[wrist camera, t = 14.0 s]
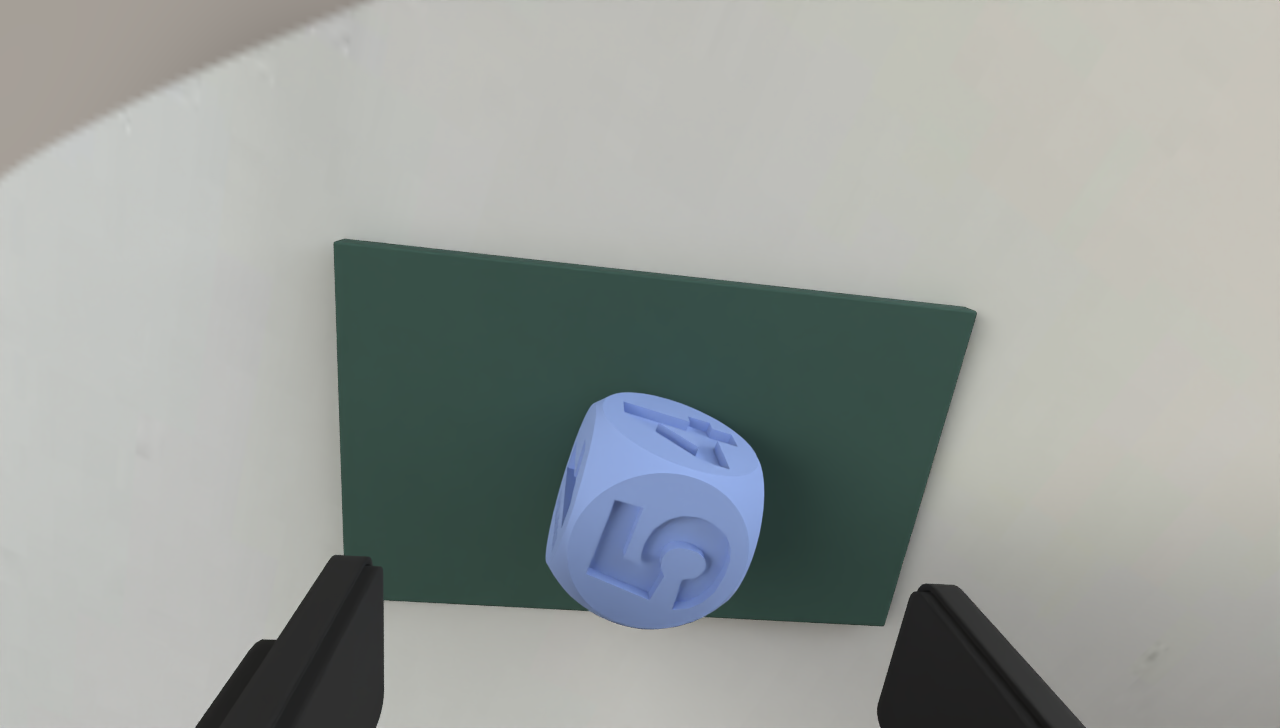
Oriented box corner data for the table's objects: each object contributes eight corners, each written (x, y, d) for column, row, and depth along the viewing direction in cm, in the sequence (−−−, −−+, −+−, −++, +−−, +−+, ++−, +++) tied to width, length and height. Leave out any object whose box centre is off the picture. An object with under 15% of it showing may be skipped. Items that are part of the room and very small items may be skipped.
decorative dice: (597, 375, 15) (597, 443, 12) (740, 420, 16) (784, 498, 12) (551, 506, 17) (537, 608, 13) (686, 543, 17) (712, 651, 13)
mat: (352, 585, 18) (344, 599, 17) (342, 238, 15) (332, 241, 14) (876, 613, 19) (884, 627, 19) (965, 306, 16) (978, 311, 16)
